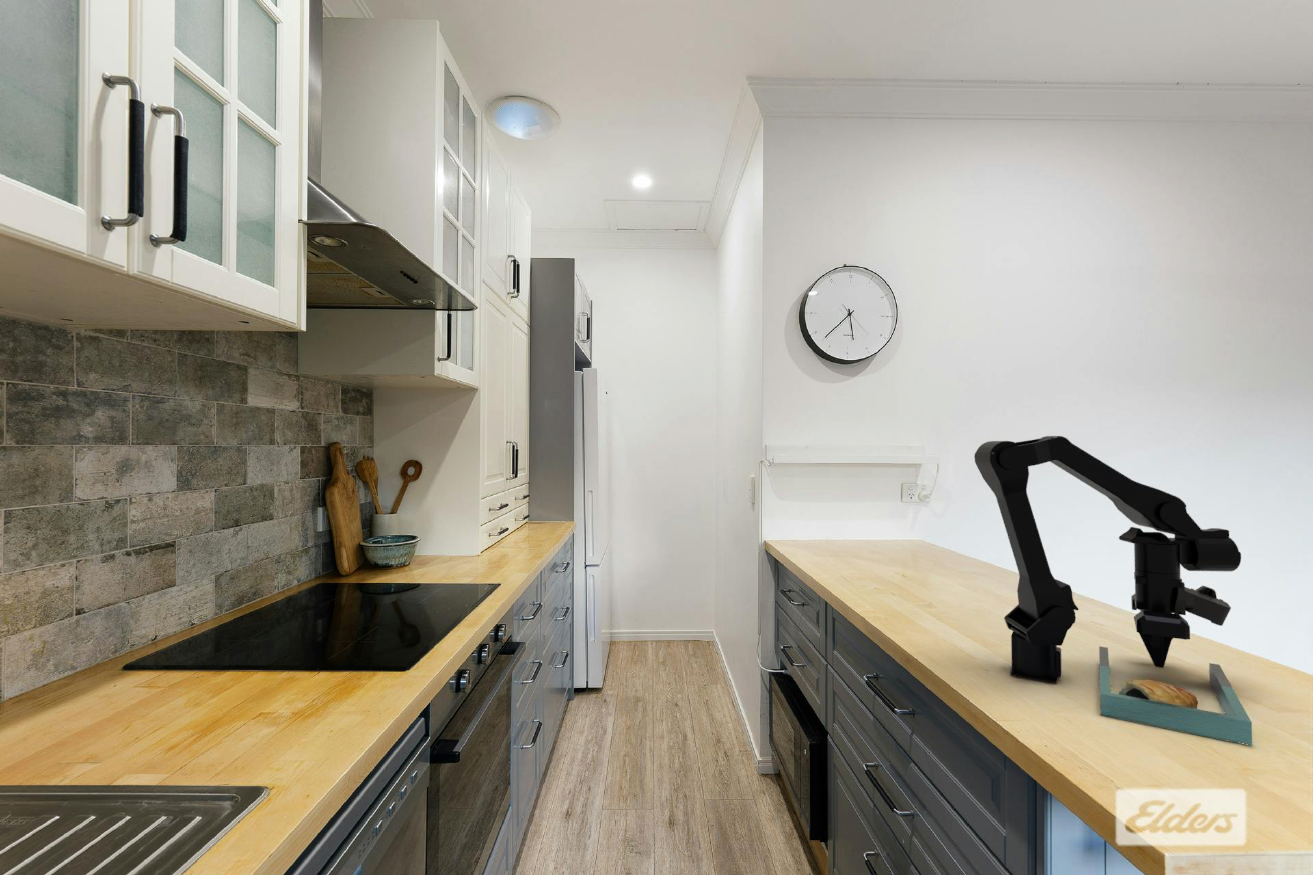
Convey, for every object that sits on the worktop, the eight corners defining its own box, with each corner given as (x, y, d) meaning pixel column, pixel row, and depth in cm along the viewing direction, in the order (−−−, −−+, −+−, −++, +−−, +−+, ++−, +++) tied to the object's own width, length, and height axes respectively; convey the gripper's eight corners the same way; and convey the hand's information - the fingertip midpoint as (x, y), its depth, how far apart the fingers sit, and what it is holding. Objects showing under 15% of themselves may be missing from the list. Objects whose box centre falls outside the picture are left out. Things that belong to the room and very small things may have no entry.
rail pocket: (1100, 714, 85) (1100, 693, 85) (1099, 663, 105) (1099, 646, 105) (1252, 746, 76) (1251, 722, 76) (1219, 683, 96) (1219, 664, 96)
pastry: (1167, 696, 92) (1167, 670, 92) (1215, 716, 85) (1214, 689, 85) (1114, 700, 90) (1114, 675, 90) (1158, 721, 84) (1158, 694, 84)
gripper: (1235, 588, 86) (1238, 698, 86) (1215, 566, 101) (1217, 659, 101) (1135, 578, 92) (1137, 681, 92) (1130, 559, 107) (1132, 647, 107)
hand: (1159, 666), depth 98 cm, fingers closed
